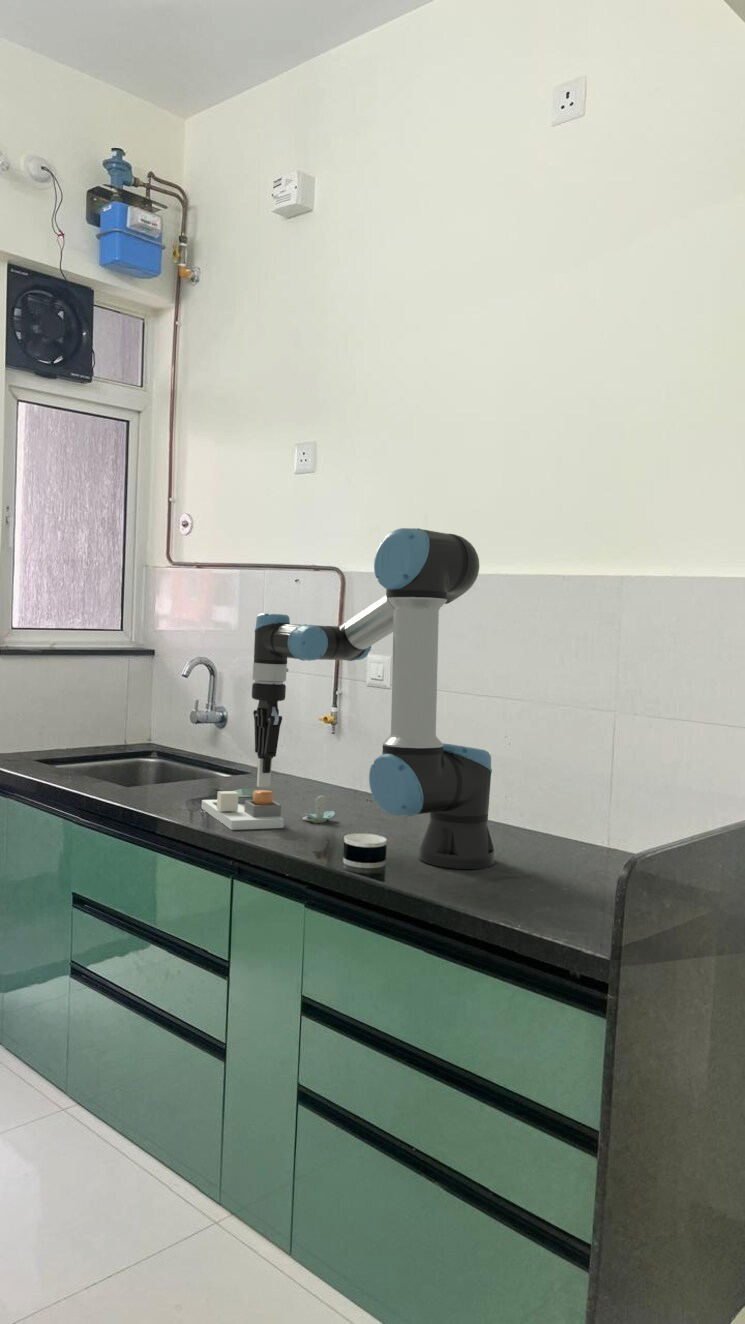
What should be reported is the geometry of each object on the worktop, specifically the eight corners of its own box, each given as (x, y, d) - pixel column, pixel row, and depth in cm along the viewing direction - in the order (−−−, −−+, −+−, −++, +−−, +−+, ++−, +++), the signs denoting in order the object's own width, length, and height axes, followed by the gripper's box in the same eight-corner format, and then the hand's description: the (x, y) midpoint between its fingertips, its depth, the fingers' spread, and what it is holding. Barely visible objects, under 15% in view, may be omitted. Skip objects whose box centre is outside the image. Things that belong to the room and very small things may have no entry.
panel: (284, 827, 224) (285, 807, 224) (231, 829, 219) (232, 809, 218) (250, 806, 245) (251, 788, 245) (201, 808, 240) (202, 789, 240)
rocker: (256, 794, 237) (256, 788, 238) (241, 794, 236) (241, 788, 236) (248, 796, 243) (248, 790, 243) (234, 796, 241) (233, 790, 241)
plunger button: (275, 806, 227) (275, 793, 226) (256, 807, 225) (257, 793, 225) (268, 803, 231) (269, 789, 230) (250, 803, 229) (251, 790, 229)
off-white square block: (237, 811, 228) (238, 793, 228) (220, 811, 226) (221, 793, 226) (233, 808, 231) (234, 791, 230) (216, 808, 229) (217, 791, 229)
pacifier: (296, 820, 234) (310, 824, 229) (297, 793, 234) (311, 797, 229) (323, 818, 238) (337, 822, 233) (324, 791, 238) (338, 795, 233)
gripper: (295, 685, 222) (289, 791, 223) (275, 680, 234) (269, 781, 235) (262, 684, 219) (256, 792, 220) (244, 679, 231) (238, 781, 232)
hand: (263, 786), depth 228 cm, fingers closed
